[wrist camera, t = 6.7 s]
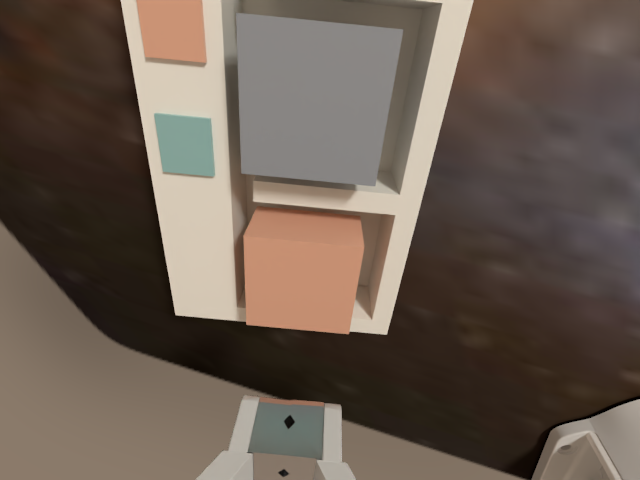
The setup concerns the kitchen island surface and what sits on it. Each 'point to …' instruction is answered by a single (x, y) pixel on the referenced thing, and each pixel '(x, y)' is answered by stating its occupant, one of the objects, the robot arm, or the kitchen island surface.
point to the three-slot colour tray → (266, 191)
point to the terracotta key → (302, 269)
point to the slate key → (314, 97)
